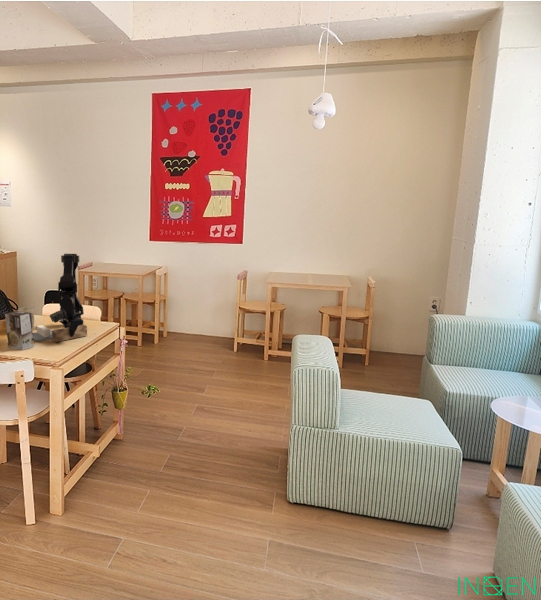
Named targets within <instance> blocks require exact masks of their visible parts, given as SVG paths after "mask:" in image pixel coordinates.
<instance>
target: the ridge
mask: <svg viewBox="0 0 541 600" xmlns="http://www.w3.org/2000/svg"><path fill="white" fill-rule="evenodd" d="M49 340H52V329H50V328H48V327H47V326H45V325H43V324H42V325H36V331H35V332H33V342H38V343H39V342H42V341H49Z"/></svg>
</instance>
